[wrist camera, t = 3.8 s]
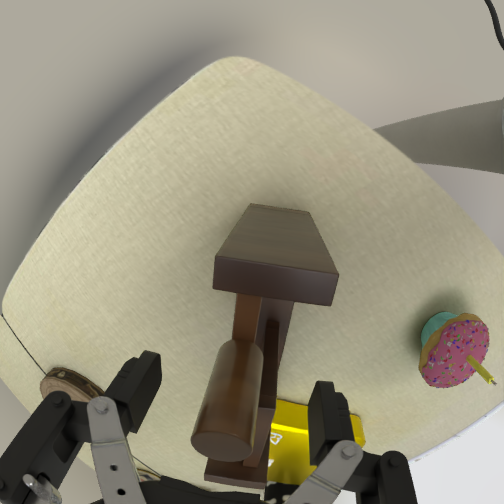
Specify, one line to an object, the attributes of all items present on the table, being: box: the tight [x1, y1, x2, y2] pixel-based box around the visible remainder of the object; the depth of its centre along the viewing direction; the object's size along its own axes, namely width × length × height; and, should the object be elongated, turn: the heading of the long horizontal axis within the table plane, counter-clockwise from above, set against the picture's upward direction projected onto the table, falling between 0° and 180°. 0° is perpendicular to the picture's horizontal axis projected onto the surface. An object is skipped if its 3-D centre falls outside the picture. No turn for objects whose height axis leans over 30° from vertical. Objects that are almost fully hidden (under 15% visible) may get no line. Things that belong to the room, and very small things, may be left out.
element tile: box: [267, 399, 366, 485], centre depth 31 cm, size 15×15×5 cm
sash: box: [191, 293, 263, 462], centre depth 17 cm, size 8×2×16 cm, turn 173°
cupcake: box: [419, 312, 497, 388], centre depth 20 cm, size 9×8×12 cm
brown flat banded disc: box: [40, 368, 104, 402], centre depth 35 cm, size 16×16×3 cm
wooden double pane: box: [204, 204, 339, 489], centre depth 21 cm, size 20×5×14 cm, turn 173°
